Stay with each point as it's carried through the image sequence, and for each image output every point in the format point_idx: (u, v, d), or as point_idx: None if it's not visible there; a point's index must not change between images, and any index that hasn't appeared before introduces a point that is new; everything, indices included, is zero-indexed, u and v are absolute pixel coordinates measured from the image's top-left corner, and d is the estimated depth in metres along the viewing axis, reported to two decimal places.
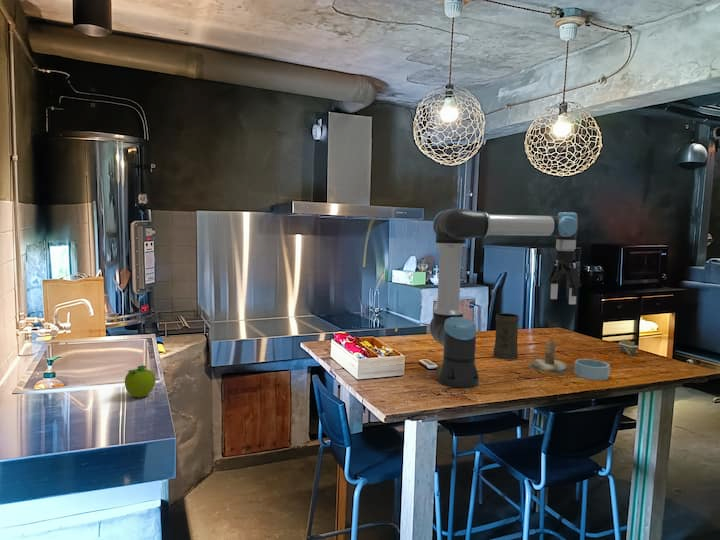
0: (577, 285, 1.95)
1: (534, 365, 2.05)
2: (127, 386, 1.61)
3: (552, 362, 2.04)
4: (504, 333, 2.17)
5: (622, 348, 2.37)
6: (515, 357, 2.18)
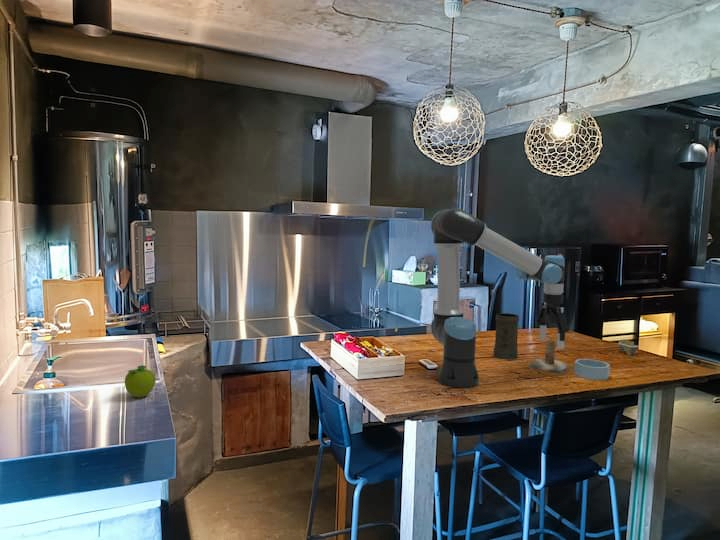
0: (565, 330, 1.95)
1: (534, 365, 2.05)
2: (127, 386, 1.61)
3: (552, 362, 2.04)
4: (504, 333, 2.17)
5: (622, 348, 2.38)
6: (515, 357, 2.18)
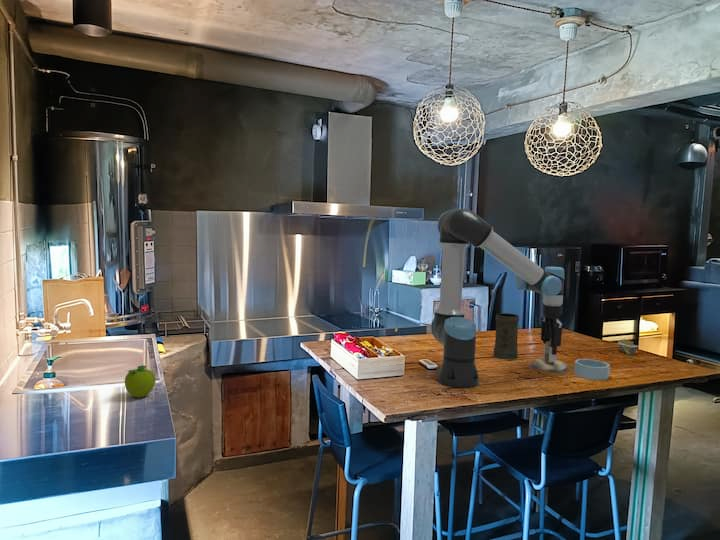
0: (557, 344, 2.00)
1: (534, 365, 2.05)
2: (127, 386, 1.61)
3: (552, 362, 2.04)
4: (504, 333, 2.17)
5: (621, 348, 2.38)
6: (515, 357, 2.18)
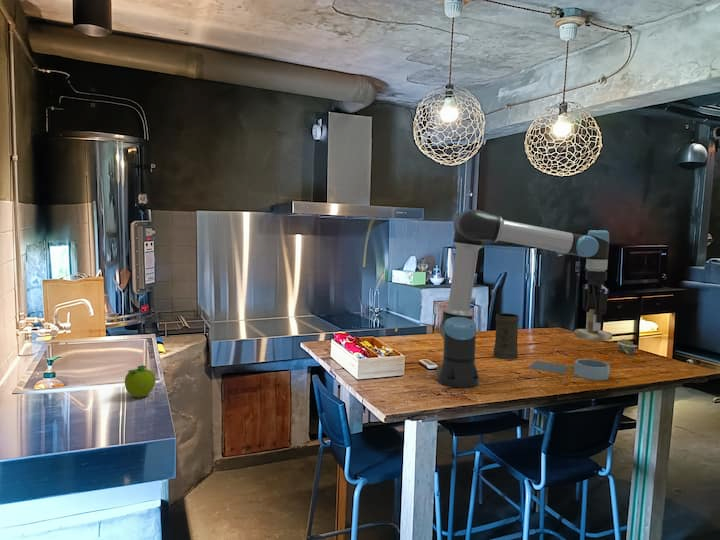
0: (602, 312, 1.89)
1: (577, 334, 1.94)
2: (127, 386, 1.61)
3: (596, 331, 1.93)
4: (504, 333, 2.17)
5: (621, 348, 2.38)
6: (515, 357, 2.18)
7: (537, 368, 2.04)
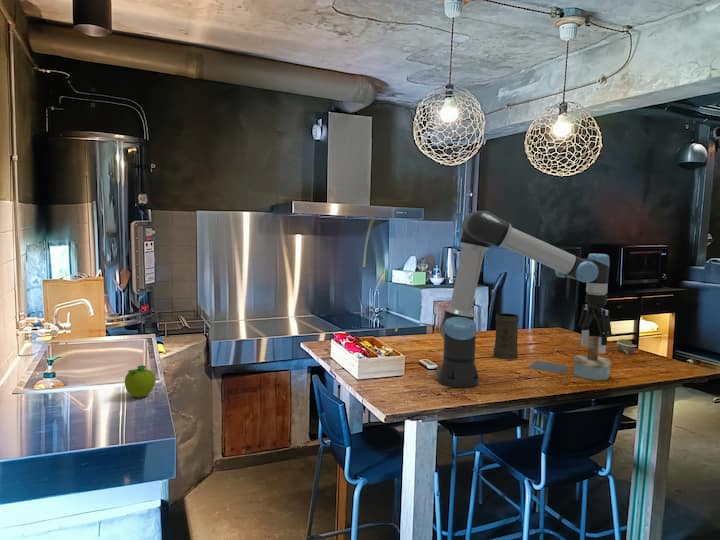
0: (607, 334, 1.86)
1: (576, 361, 1.94)
2: (127, 386, 1.61)
3: (595, 358, 1.94)
4: (504, 333, 2.17)
5: (620, 347, 2.39)
6: (515, 357, 2.18)
7: (537, 368, 2.04)
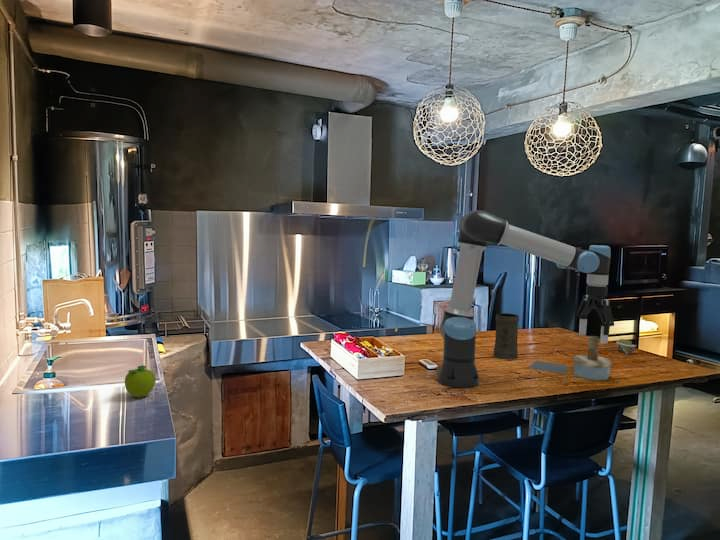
0: (610, 324, 1.84)
1: (576, 361, 1.94)
2: (127, 386, 1.61)
3: (595, 358, 1.94)
4: (504, 332, 2.17)
5: (620, 347, 2.39)
6: (515, 357, 2.18)
7: (537, 368, 2.04)
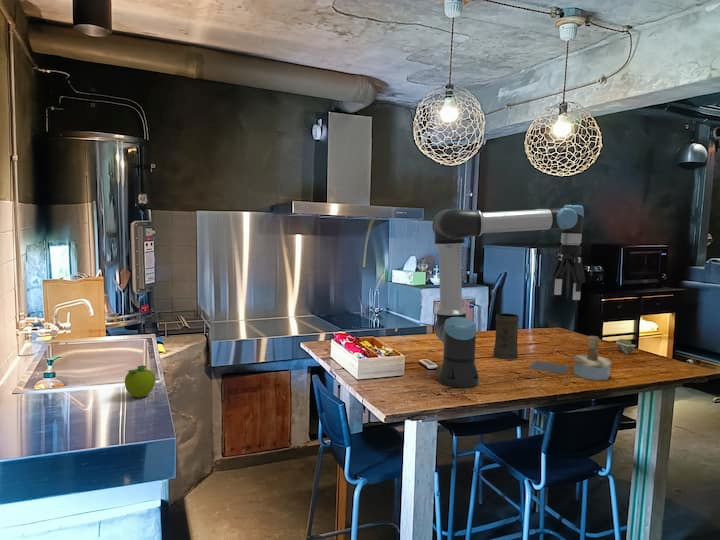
0: (581, 280, 1.89)
1: (576, 361, 1.94)
2: (127, 386, 1.61)
3: (595, 358, 1.94)
4: (504, 333, 2.17)
5: (619, 347, 2.39)
6: (515, 357, 2.18)
7: (537, 368, 2.04)
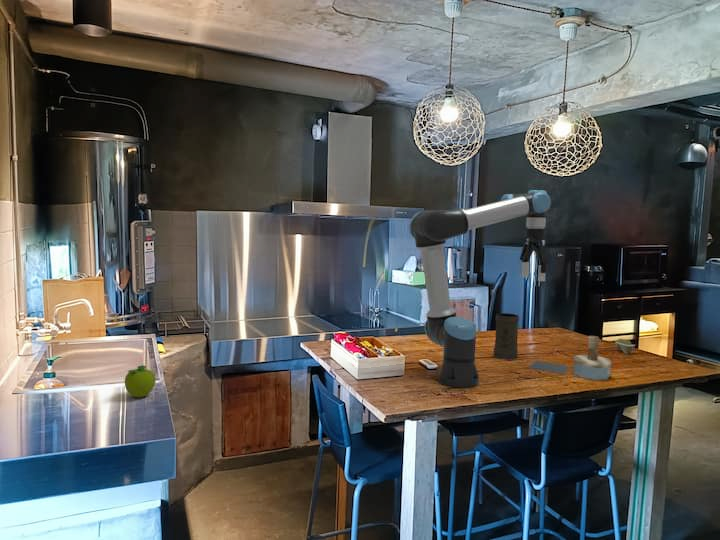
0: (546, 262, 1.97)
1: (576, 361, 1.94)
2: (127, 386, 1.61)
3: (595, 358, 1.94)
4: (504, 333, 2.17)
5: (619, 347, 2.39)
6: (515, 357, 2.18)
7: (537, 368, 2.04)
